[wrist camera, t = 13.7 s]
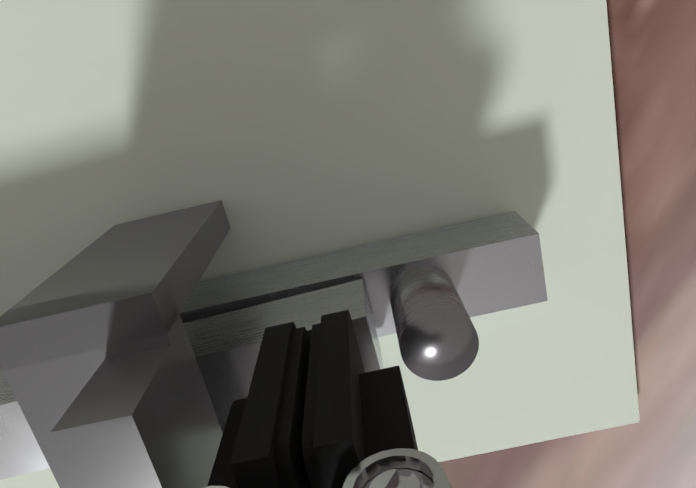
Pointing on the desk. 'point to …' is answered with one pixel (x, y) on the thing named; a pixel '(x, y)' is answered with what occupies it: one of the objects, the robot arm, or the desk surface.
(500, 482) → the desk surface
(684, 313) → the desk surface
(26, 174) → the mat
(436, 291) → the base
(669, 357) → the desk surface
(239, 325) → the jaw
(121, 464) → the lock collar
